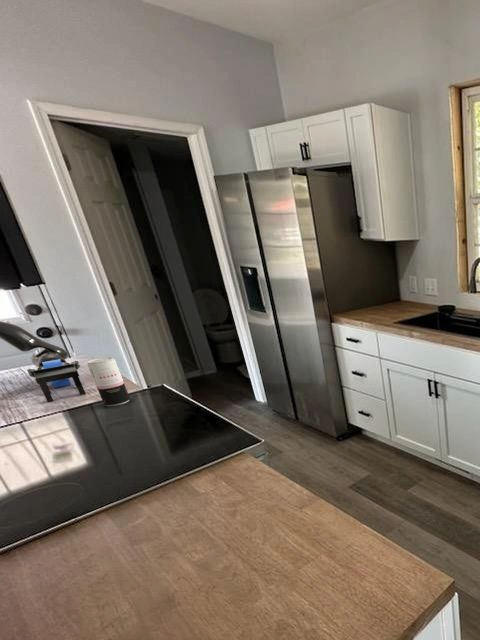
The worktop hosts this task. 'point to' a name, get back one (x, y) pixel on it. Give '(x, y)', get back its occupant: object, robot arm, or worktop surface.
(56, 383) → the tape roll
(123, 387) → the beverage can
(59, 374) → the tape rack
